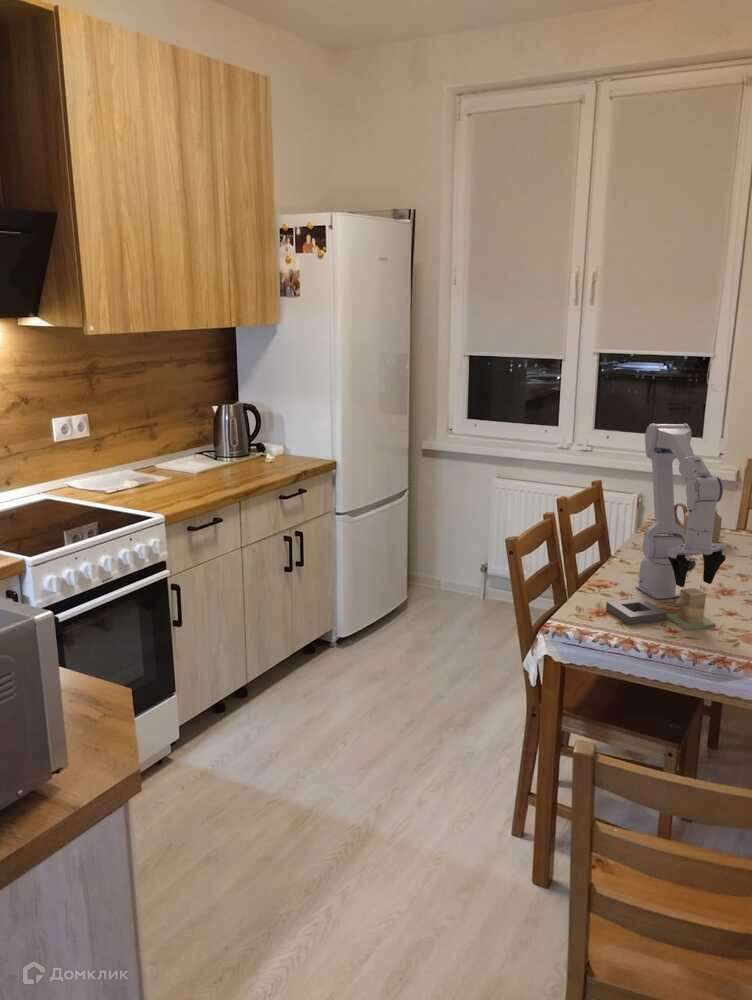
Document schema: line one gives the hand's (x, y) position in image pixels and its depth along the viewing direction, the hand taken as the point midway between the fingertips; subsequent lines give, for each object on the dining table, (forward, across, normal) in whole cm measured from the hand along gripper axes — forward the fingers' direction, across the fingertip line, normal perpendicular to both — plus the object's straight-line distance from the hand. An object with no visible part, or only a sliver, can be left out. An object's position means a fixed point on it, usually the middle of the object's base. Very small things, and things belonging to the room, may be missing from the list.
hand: (693, 584), depth 182 cm
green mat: (+9, 0, 0) cm, 9 cm away
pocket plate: (+9, -10, +7) cm, 15 cm away
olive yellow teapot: (+10, +45, +56) cm, 72 cm away
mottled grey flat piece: (+10, +27, +41) cm, 50 cm away
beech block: (+9, 0, 0) cm, 9 cm away
